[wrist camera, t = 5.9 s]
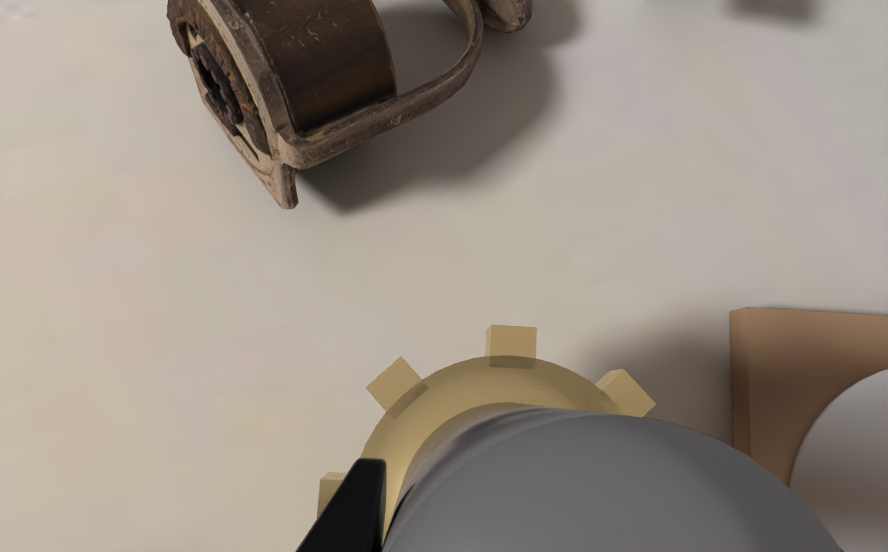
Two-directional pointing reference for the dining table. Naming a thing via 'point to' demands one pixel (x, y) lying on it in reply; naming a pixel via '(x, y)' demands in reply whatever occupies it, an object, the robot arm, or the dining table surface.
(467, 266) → the dining table surface
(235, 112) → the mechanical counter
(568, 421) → the loose gear
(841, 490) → the gear board
